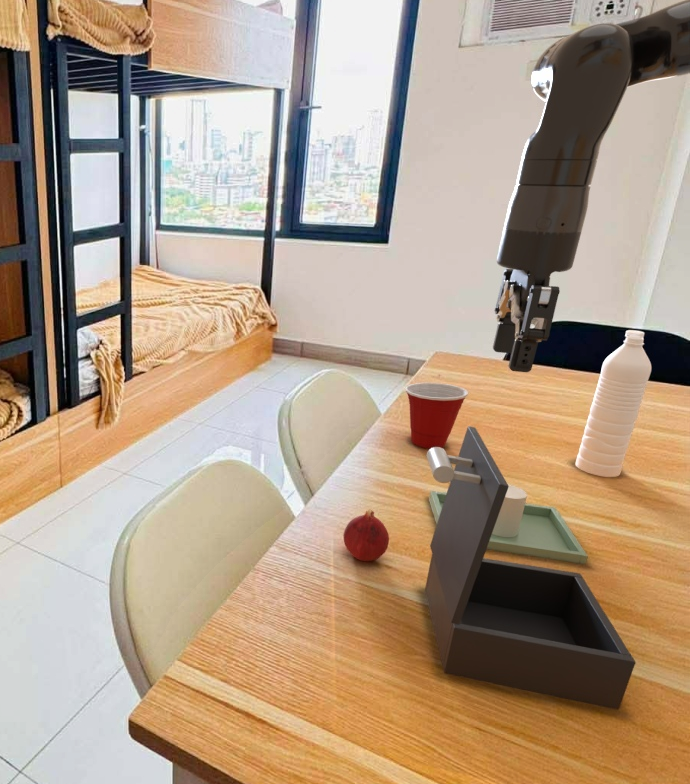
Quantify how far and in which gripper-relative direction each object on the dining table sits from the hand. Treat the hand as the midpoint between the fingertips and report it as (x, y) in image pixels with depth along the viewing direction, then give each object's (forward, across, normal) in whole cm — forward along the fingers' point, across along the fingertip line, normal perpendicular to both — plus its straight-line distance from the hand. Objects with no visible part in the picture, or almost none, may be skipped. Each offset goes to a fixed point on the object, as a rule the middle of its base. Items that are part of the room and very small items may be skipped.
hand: (510, 360), depth 78 cm
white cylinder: (+29, +10, -6) cm, 31 cm away
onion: (+30, -4, +13) cm, 33 cm away
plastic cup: (+30, +41, 0) cm, 50 cm away
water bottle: (+29, +39, -28) cm, 56 cm away
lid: (+14, -17, +5) cm, 23 cm away
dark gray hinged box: (+29, -17, -2) cm, 34 cm away
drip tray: (+29, +10, -7) cm, 32 cm away
